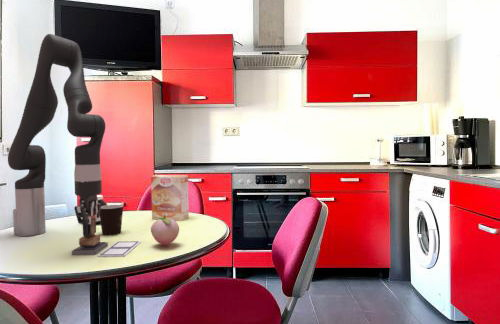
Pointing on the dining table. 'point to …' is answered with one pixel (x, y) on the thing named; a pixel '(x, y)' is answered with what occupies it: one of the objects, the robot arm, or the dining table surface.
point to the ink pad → (90, 249)
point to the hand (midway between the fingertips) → (89, 234)
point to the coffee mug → (111, 219)
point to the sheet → (119, 249)
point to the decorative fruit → (165, 230)
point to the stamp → (90, 240)
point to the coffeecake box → (170, 197)
